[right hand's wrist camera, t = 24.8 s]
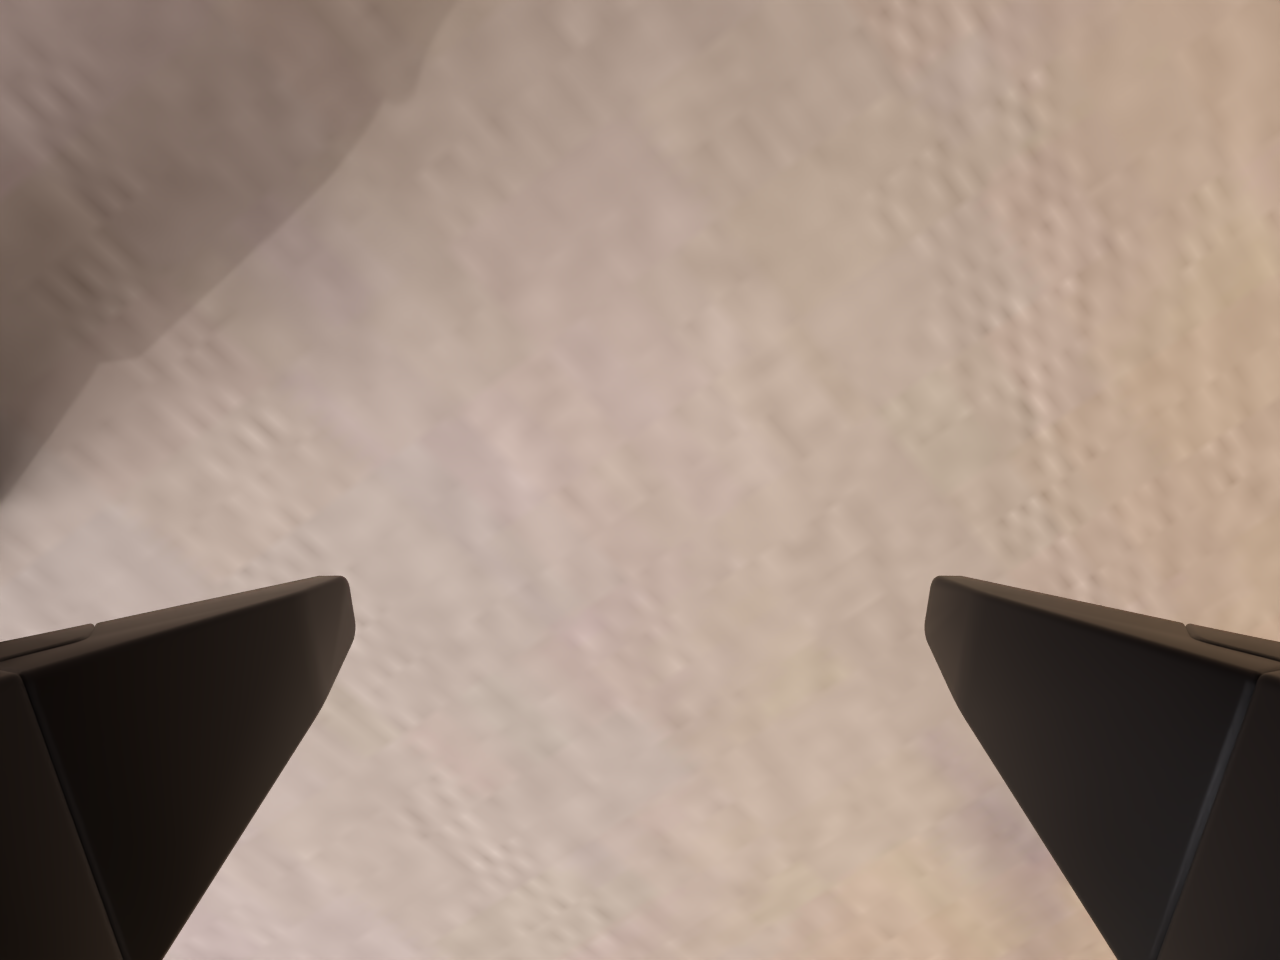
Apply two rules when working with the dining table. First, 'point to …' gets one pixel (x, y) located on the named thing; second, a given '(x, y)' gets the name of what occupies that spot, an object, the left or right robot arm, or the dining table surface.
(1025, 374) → the dining table surface
